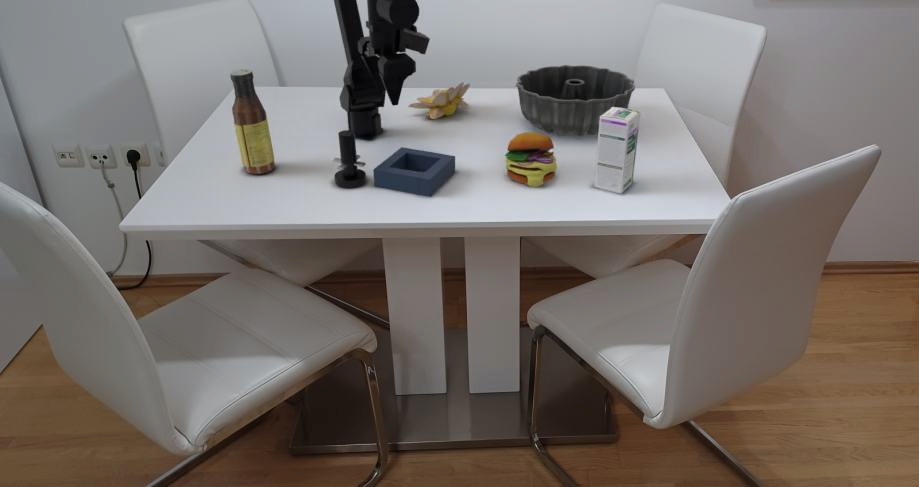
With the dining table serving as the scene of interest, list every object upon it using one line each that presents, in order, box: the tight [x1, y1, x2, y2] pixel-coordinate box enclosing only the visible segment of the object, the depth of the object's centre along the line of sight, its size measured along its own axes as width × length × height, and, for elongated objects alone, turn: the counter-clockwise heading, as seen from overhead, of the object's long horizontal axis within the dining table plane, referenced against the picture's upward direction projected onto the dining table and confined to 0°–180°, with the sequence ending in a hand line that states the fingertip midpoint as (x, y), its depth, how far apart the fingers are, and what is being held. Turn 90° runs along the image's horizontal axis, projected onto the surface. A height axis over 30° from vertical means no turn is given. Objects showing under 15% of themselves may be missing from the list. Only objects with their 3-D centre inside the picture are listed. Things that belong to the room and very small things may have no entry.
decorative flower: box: [407, 82, 471, 120], centre depth 169 cm, size 15×11×10 cm
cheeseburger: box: [504, 131, 558, 188], centre depth 139 cm, size 10×11×10 cm
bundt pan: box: [515, 64, 636, 137], centre depth 163 cm, size 26×26×10 cm
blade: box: [332, 129, 367, 189], centre depth 136 cm, size 7×7×10 cm
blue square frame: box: [372, 146, 456, 197], centre depth 139 cm, size 12×12×4 cm
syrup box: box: [593, 107, 641, 194], centre depth 133 cm, size 6×6×14 cm
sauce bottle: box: [229, 68, 275, 175], centre depth 139 cm, size 6×6×20 cm
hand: (388, 97), depth 142 cm, fingers open, 9 cm apart
